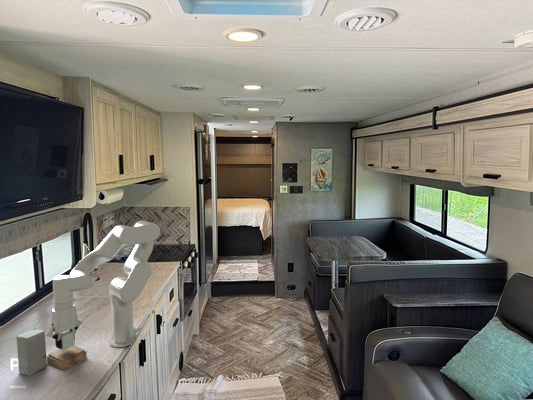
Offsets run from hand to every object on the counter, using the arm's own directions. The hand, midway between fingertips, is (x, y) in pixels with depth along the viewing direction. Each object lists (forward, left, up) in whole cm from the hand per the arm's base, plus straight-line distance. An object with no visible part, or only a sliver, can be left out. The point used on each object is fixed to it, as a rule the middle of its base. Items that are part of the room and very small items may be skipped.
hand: (65, 344), depth 159 cm
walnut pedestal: (0, 0, -7) cm, 7 cm away
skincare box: (+11, -6, -8) cm, 15 cm away
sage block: (0, 0, -1) cm, 1 cm away
